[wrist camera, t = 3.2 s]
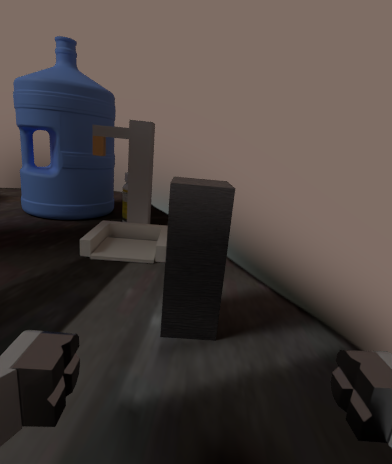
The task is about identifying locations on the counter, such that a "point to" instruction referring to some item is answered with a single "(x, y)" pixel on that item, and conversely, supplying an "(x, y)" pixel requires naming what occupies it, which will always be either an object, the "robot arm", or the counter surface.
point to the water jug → (65, 140)
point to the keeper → (129, 203)
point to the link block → (195, 257)
